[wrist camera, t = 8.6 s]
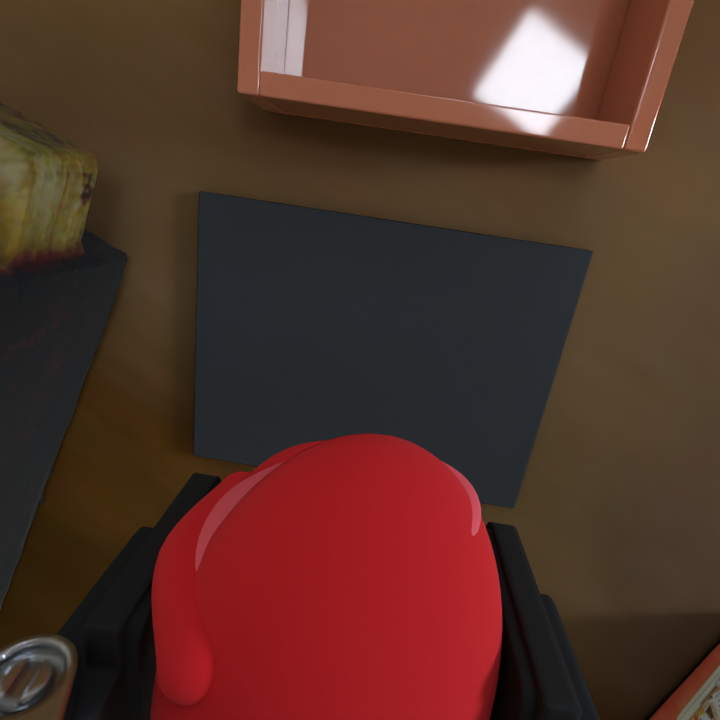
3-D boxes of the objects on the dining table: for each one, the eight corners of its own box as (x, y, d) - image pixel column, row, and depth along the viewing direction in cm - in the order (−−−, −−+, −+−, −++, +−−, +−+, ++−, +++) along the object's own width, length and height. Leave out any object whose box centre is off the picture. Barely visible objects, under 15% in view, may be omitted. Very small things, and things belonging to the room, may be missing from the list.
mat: (589, 250, 21) (593, 251, 21) (512, 504, 26) (513, 508, 26) (202, 191, 22) (198, 191, 21) (195, 452, 26) (193, 455, 26)
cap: (248, 341, 10) (47, 545, 4) (517, 425, 10) (682, 728, 4) (184, 614, 12) (10, 965, 7) (397, 674, 13) (402, 1063, 7)
